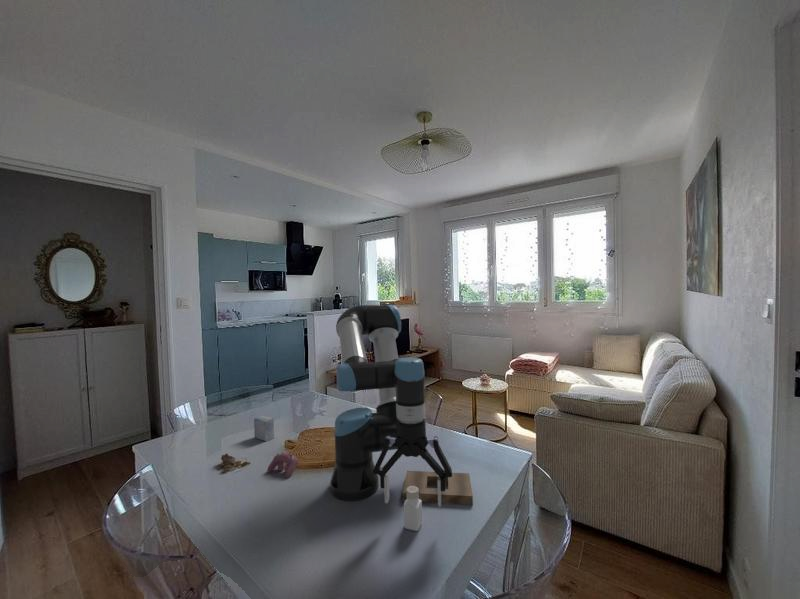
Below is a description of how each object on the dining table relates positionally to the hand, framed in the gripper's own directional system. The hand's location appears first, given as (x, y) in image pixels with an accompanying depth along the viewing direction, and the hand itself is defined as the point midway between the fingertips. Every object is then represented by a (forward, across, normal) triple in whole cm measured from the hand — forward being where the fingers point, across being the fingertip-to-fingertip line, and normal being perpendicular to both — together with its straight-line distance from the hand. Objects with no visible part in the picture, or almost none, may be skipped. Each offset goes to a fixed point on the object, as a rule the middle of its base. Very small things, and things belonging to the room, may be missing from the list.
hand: (413, 501), depth 84 cm
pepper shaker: (+7, 0, 0) cm, 7 cm away
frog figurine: (+7, -68, +25) cm, 73 cm away
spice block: (+6, +6, +16) cm, 19 cm away
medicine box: (+6, -69, +48) cm, 85 cm away
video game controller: (+6, -47, +23) cm, 53 cm away
